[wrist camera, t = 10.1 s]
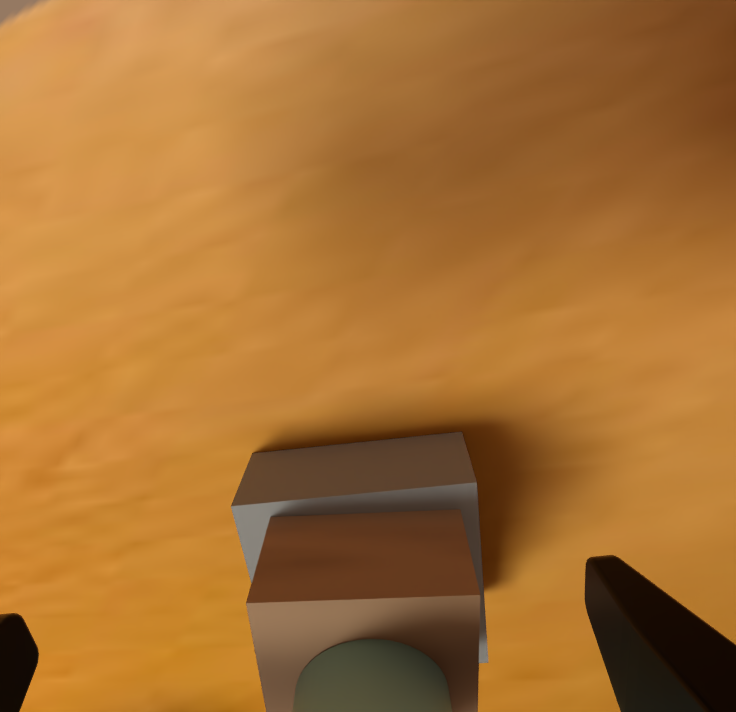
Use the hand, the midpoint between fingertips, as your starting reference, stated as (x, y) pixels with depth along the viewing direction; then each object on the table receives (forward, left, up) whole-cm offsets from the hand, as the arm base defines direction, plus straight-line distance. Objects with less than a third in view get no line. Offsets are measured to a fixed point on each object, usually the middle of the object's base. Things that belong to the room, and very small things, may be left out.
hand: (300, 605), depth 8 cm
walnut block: (-9, 0, -10) cm, 14 cm away
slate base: (-10, 0, -14) cm, 17 cm away
